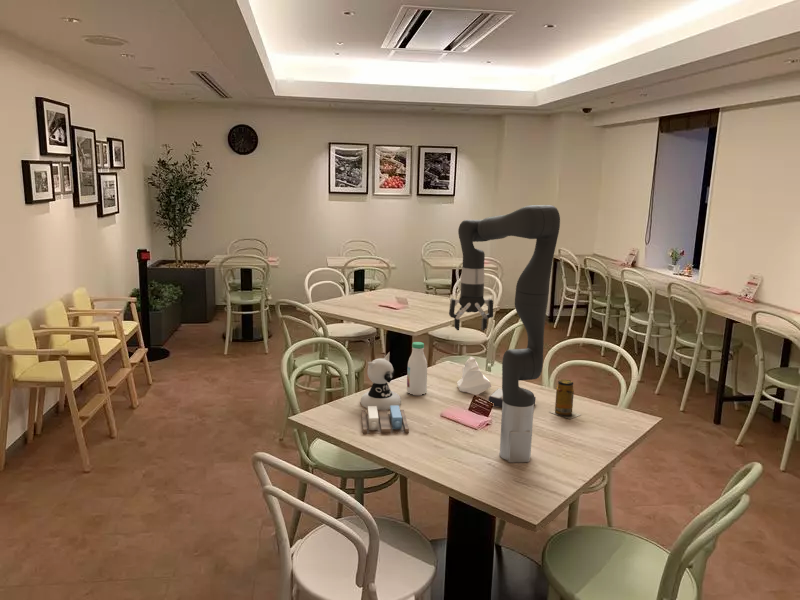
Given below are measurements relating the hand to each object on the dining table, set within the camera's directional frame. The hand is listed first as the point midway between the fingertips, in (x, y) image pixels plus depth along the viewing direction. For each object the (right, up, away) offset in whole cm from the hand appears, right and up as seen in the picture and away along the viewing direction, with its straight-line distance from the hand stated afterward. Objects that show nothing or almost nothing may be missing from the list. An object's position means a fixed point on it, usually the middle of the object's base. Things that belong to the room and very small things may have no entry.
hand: (470, 329), depth 204 cm
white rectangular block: (-32, -31, +1) cm, 45 cm away
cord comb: (-28, -33, +2) cm, 43 cm away
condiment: (+36, -31, +19) cm, 51 cm away
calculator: (+19, -30, +27) cm, 44 cm away
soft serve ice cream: (+6, -26, +42) cm, 50 cm away
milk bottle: (-17, -27, +37) cm, 49 cm away
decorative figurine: (-30, -29, +21) cm, 47 cm away
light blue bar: (-25, -31, +3) cm, 40 cm away
